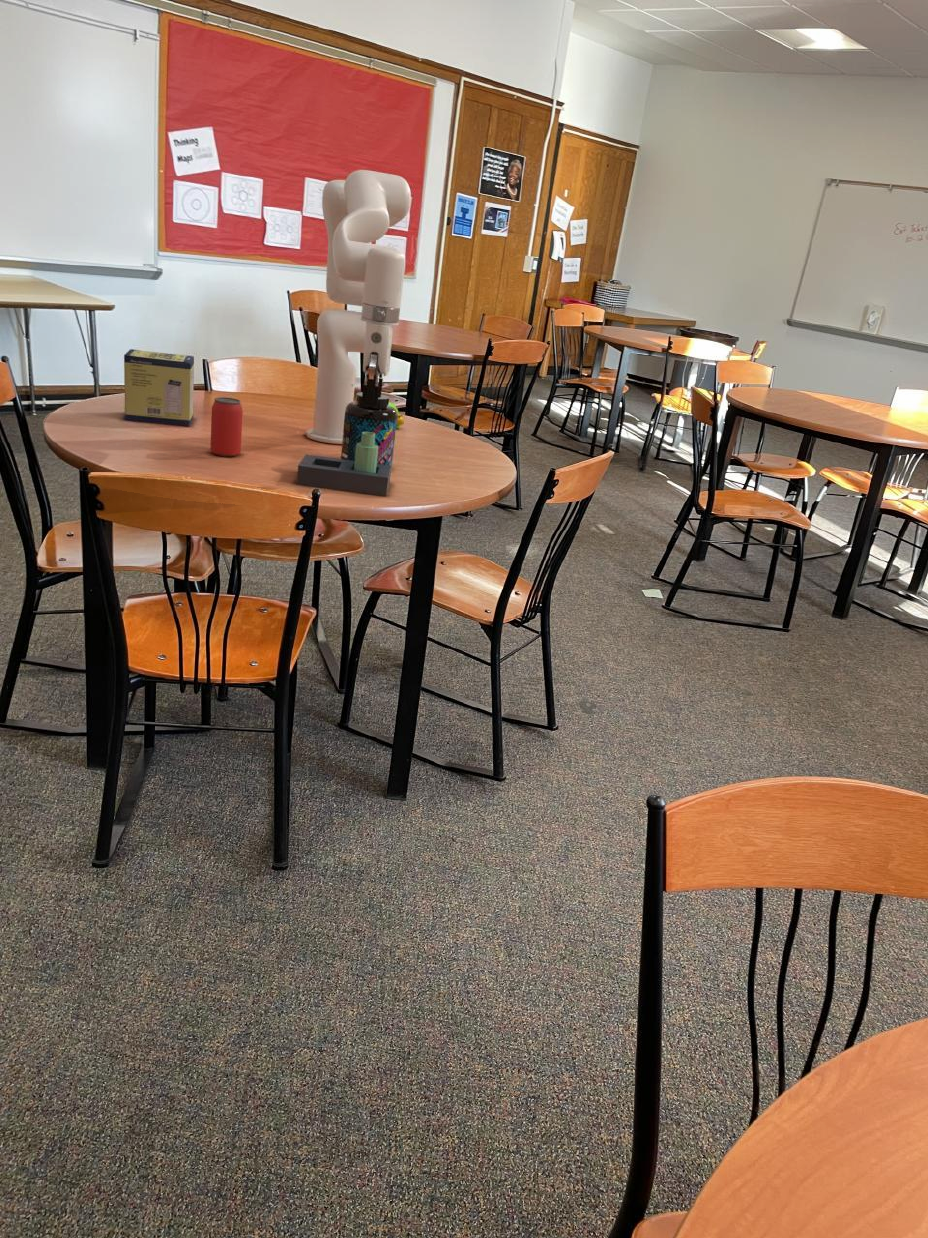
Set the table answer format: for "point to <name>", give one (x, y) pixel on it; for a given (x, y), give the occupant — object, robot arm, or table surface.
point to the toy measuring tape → (399, 417)
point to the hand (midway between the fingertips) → (371, 400)
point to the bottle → (366, 453)
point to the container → (370, 428)
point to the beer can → (226, 427)
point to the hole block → (342, 475)
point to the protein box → (158, 387)
